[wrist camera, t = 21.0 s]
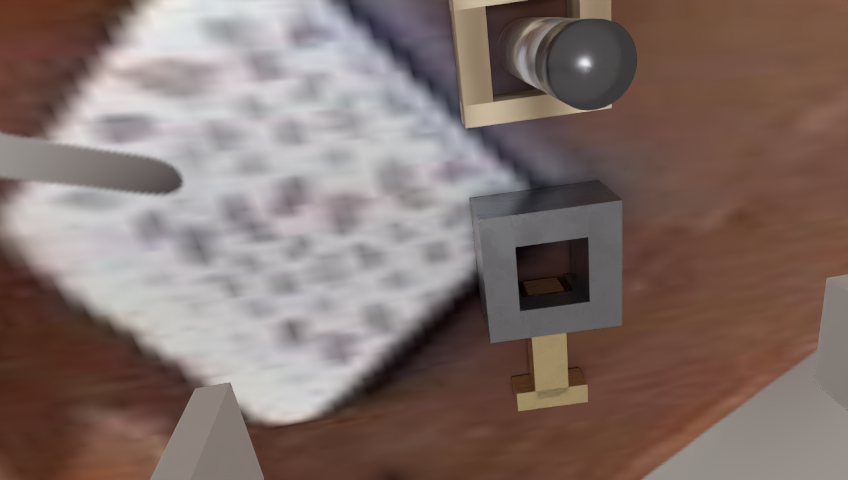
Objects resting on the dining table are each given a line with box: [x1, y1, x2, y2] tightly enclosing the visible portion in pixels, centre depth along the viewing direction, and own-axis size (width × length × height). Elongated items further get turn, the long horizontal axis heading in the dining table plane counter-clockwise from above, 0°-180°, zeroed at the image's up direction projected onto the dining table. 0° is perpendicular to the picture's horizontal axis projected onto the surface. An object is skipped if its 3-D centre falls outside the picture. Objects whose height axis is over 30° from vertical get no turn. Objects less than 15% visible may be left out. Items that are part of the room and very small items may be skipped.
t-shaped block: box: [512, 277, 588, 411], centre depth 47 cm, size 6×11×2 cm, turn 7°
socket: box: [470, 180, 622, 343], centre depth 43 cm, size 10×10×5 cm
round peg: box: [496, 17, 637, 111], centre depth 32 cm, size 4×4×15 cm
